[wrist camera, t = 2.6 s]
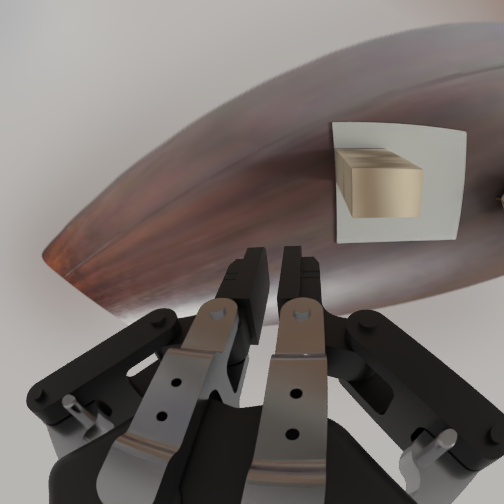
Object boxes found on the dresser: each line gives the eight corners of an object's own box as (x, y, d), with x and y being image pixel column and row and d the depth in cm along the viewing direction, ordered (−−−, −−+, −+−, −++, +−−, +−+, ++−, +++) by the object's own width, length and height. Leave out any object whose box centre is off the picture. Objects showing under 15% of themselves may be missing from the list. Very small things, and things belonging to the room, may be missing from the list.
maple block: (384, 148, 26) (423, 169, 17) (384, 181, 28) (419, 217, 19) (334, 148, 28) (351, 168, 18) (336, 181, 30) (352, 218, 20)
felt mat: (465, 131, 23) (466, 131, 22) (454, 238, 30) (455, 239, 30) (331, 122, 26) (332, 122, 26) (336, 242, 34) (337, 243, 33)
